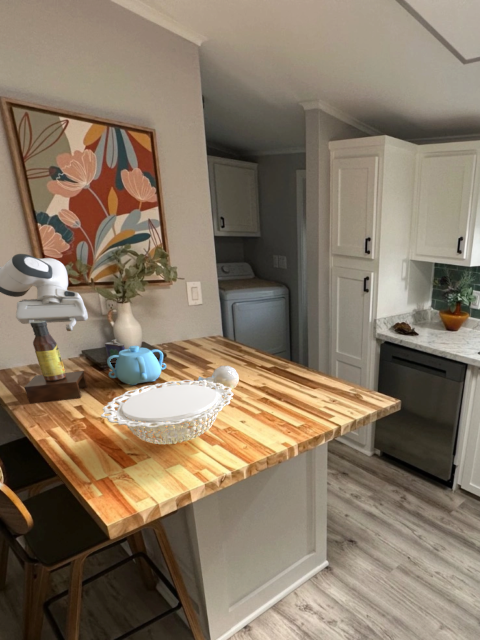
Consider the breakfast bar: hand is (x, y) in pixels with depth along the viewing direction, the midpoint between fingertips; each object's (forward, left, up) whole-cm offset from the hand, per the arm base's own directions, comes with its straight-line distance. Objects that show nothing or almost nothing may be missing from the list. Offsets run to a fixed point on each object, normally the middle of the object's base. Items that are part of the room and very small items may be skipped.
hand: (53, 331), depth 145 cm
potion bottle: (+51, -27, -20) cm, 61 cm away
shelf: (0, -11, -20) cm, 23 cm away
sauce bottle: (0, -11, -14) cm, 18 cm away
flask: (+14, +21, -20) cm, 32 cm away
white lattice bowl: (+38, -62, -20) cm, 76 cm away
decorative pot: (+24, -4, -20) cm, 32 cm away
